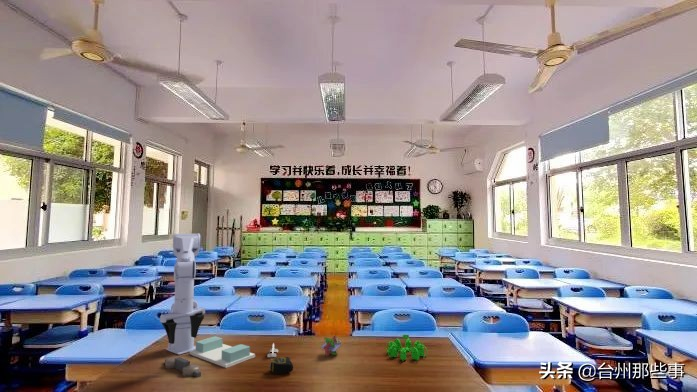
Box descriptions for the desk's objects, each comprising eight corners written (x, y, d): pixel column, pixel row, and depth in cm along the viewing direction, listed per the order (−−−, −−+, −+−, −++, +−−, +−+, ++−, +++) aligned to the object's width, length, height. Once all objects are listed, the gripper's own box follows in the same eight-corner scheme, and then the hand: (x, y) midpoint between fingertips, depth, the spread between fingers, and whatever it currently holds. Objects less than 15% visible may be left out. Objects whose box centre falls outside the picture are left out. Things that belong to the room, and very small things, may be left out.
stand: (189, 354, 131) (190, 342, 131) (218, 345, 140) (218, 334, 141) (226, 367, 118) (226, 355, 118) (255, 356, 127) (255, 345, 128)
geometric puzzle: (328, 355, 123) (337, 333, 127) (314, 351, 127) (323, 329, 131) (338, 363, 127) (346, 341, 131) (324, 358, 131) (332, 337, 135)
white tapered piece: (265, 353, 133) (265, 340, 133) (283, 352, 133) (283, 340, 133) (256, 369, 118) (257, 355, 118) (277, 368, 118) (277, 354, 118)
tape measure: (293, 374, 112) (293, 362, 113) (271, 377, 110) (271, 365, 111) (290, 366, 119) (290, 355, 119) (269, 369, 117) (269, 357, 117)
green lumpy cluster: (436, 358, 125) (435, 338, 126) (400, 366, 119) (400, 345, 119) (410, 345, 139) (410, 327, 139) (377, 352, 132) (377, 332, 133)
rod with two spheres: (159, 364, 121) (159, 355, 121) (173, 360, 125) (173, 351, 125) (191, 379, 109) (192, 369, 109) (206, 374, 113) (206, 364, 113)
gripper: (168, 303, 110) (167, 348, 109) (210, 295, 122) (209, 336, 121) (157, 300, 115) (155, 344, 114) (199, 293, 126) (198, 332, 125)
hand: (182, 340), depth 118 cm, fingers open, 7 cm apart
